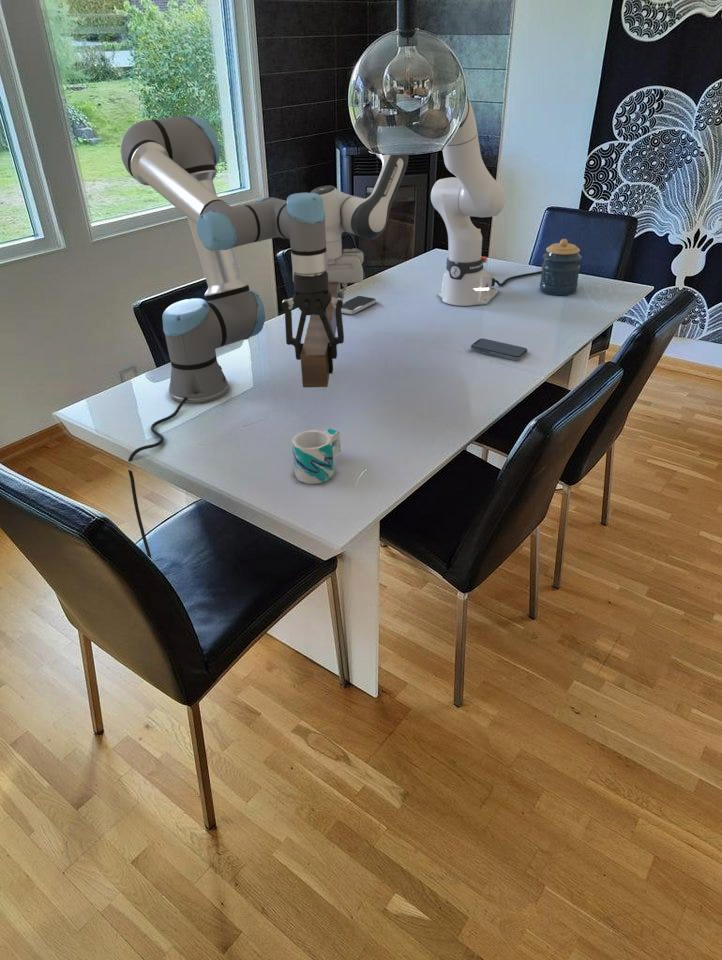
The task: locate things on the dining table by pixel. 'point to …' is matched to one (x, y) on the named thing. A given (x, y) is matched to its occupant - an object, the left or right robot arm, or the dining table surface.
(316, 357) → the beam
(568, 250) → the canister
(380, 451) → the dining table surface
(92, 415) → the dining table surface
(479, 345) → the smartphone
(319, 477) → the mug
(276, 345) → the dining table surface
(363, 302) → the smartphone
